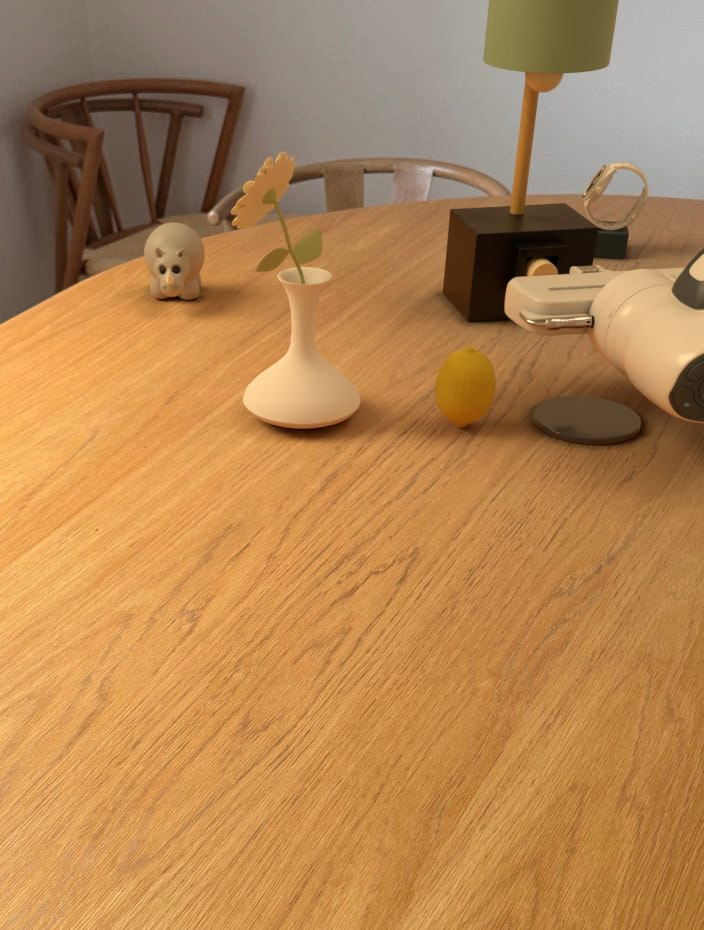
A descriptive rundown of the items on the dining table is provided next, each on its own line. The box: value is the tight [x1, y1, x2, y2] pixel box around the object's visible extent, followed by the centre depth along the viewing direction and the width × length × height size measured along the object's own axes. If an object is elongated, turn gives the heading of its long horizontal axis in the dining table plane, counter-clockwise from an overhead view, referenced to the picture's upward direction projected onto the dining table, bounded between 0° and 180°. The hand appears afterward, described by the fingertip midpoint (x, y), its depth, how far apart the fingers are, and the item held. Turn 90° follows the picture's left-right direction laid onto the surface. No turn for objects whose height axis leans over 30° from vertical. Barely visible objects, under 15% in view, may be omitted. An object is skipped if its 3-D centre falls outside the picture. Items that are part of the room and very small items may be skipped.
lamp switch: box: [524, 257, 558, 277], centre depth 139 cm, size 2×3×3 cm
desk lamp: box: [442, 0, 620, 323], centre depth 138 cm, size 13×14×34 cm
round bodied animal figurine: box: [143, 221, 206, 301], centre depth 147 cm, size 7×12×8 cm, turn 176°
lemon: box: [434, 346, 497, 429], centre depth 118 cm, size 6×6×8 cm
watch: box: [581, 161, 649, 260], centre depth 161 cm, size 6×8×11 cm
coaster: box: [532, 395, 642, 446], centre depth 121 cm, size 10×10×1 cm
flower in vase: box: [230, 151, 362, 430], centre depth 115 cm, size 13×11×25 cm
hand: (582, 273), depth 128 cm, fingers closed
